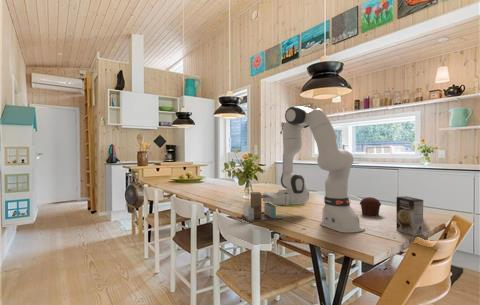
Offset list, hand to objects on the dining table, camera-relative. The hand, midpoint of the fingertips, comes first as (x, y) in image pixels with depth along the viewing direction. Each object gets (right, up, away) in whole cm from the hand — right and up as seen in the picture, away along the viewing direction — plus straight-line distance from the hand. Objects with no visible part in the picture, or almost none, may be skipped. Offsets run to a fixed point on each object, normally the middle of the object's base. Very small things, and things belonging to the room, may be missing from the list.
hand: (260, 198), depth 155 cm
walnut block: (-3, -10, 0) cm, 11 cm away
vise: (0, -11, 0) cm, 11 cm away
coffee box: (+67, -11, -31) cm, 75 cm away
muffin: (+65, -10, +3) cm, 66 cm away
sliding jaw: (+5, -10, +2) cm, 12 cm away
